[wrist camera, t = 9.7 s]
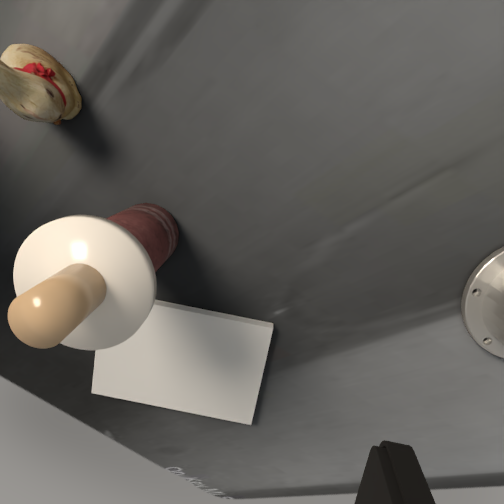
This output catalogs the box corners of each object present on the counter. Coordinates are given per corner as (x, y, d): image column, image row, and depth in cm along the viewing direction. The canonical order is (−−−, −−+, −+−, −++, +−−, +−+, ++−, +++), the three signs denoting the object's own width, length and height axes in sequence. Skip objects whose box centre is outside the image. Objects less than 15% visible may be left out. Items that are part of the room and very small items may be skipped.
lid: (165, 229, 26) (131, 256, 20) (148, 352, 28) (114, 410, 22) (27, 201, 26) (-48, 220, 20) (22, 327, 28) (-47, 377, 22)
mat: (273, 323, 42) (273, 328, 41) (251, 417, 45) (251, 425, 44) (105, 289, 42) (101, 293, 41) (96, 386, 45) (91, 393, 44)
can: (154, 274, 41) (97, 339, 28) (108, 231, 40) (25, 277, 27) (194, 235, 40) (154, 282, 27) (147, 189, 39) (80, 215, 26)
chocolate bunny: (41, 136, 38) (-38, 135, 29) (6, 50, 36) (-91, 18, 27) (93, 120, 38) (31, 112, 28) (60, 31, 36) (-18, -10, 26)
